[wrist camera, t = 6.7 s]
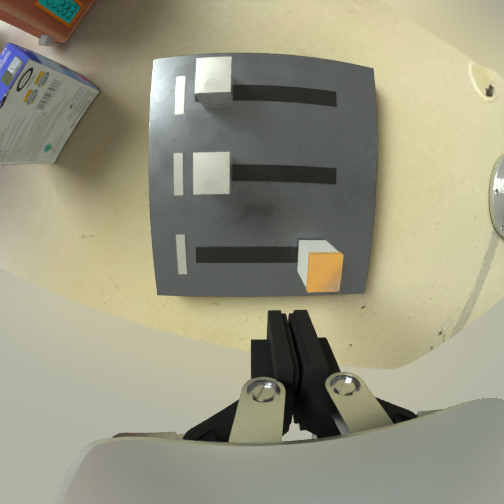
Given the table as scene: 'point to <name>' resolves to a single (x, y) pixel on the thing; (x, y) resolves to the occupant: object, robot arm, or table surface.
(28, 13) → the control panel
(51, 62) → the ink cartridge box
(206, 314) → the table surface
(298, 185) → the breaker board
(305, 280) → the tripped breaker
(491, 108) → the table surface
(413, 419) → the robot arm
